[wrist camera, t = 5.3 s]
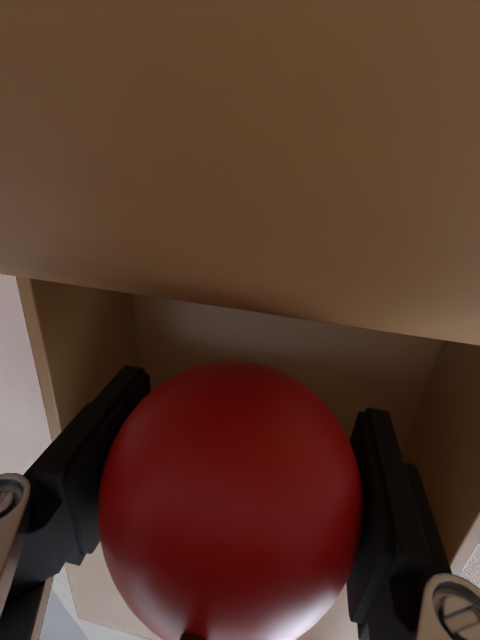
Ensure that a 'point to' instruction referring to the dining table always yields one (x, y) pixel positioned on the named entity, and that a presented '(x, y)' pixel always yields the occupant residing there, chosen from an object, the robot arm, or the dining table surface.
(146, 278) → the flap
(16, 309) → the dining table surface
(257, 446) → the apple
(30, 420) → the dining table surface
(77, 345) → the cardboard box
